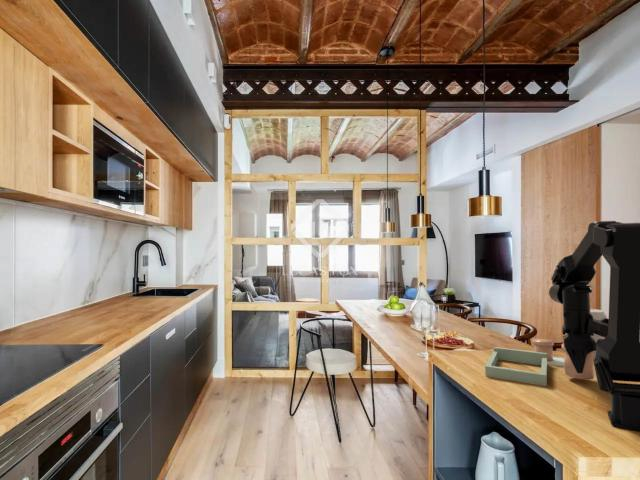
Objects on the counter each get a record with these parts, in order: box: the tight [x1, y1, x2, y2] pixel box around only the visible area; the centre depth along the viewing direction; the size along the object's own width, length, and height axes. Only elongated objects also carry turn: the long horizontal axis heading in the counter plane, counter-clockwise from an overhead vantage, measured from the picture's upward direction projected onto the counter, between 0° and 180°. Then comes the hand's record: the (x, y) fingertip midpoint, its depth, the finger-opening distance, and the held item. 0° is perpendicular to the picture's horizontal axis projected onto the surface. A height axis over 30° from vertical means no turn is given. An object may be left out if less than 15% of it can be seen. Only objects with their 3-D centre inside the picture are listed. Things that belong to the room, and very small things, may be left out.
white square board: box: [547, 355, 565, 368], centre depth 108 cm, size 10×12×1 cm
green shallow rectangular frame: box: [484, 346, 548, 387], centre depth 99 cm, size 18×14×4 cm
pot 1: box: [532, 337, 555, 361], centre depth 109 cm, size 6×6×6 cm
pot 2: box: [561, 342, 595, 380], centre depth 91 cm, size 7×7×8 cm
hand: (578, 369), depth 91 cm, fingers closed on pot 2, 6 cm apart
